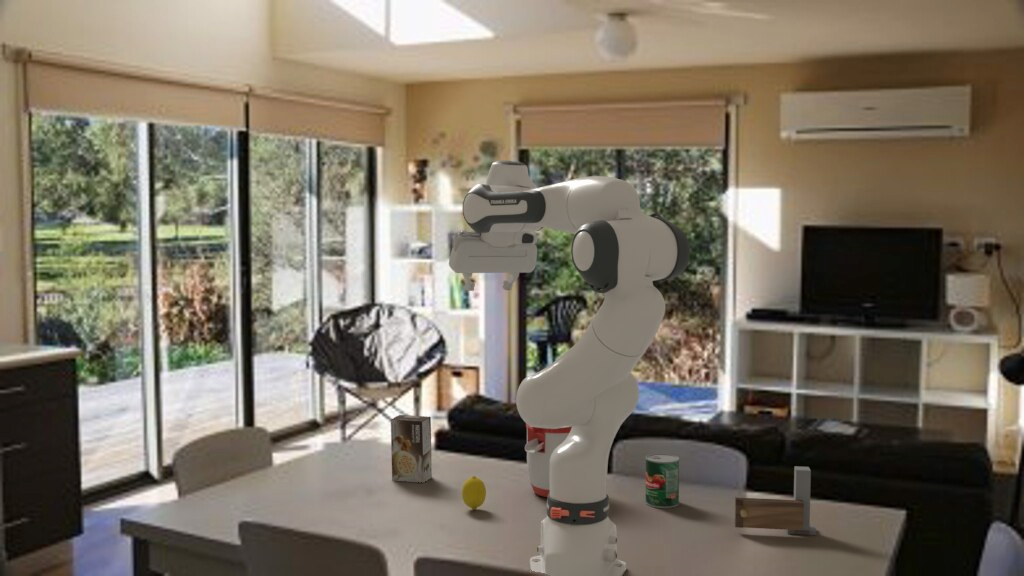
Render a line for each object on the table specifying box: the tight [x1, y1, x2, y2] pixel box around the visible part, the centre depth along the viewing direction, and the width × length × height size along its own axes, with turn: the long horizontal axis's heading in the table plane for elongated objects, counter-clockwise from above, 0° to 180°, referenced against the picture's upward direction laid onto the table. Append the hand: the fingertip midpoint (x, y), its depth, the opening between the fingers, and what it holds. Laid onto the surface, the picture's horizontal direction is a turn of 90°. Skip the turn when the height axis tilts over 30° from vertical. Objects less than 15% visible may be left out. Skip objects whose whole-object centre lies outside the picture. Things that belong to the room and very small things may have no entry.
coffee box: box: [390, 414, 433, 484], centre depth 249 cm, size 9×6×16 cm
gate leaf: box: [734, 496, 804, 531], centre depth 205 cm, size 3×14×6 cm, turn 81°
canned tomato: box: [645, 453, 680, 509], centre depth 228 cm, size 8×8×11 cm
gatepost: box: [785, 465, 818, 536], centre depth 208 cm, size 4×6×14 cm, turn 81°
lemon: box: [461, 475, 487, 511], centre depth 223 cm, size 6×6×8 cm
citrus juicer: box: [524, 423, 572, 498], centre depth 236 cm, size 16×17×20 cm
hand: (488, 289), depth 217 cm, fingers open, 8 cm apart
